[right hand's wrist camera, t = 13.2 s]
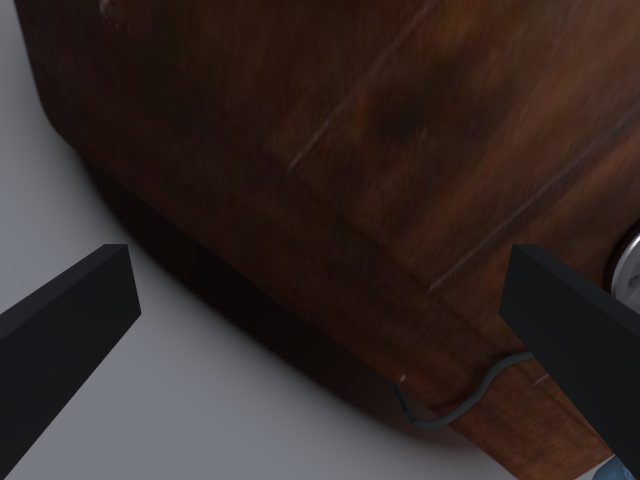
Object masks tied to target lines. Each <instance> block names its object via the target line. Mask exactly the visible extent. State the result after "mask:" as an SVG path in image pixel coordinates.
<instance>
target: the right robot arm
mask: <svg viewBox="0 0 640 480" xmlns="http://www.w3.org/2000/svg"><path fill="white" fill-rule="evenodd" d="M140 315H141V309H140V304H139V299H138V294H137V289H136V285H135V280H134V275H133V270H132V265H131V260H130V256H129V251H128V246H127V244H104V245H103V246H101V247H100V248H98V249H97V250H95V251H94V252H92V253H91V254H89V255H88V256H86V257H85V258H83V259H82V260H80V261H79V262H78V263H76V264H75V265H73V266H72V267H70V268H69V269H67V270H66V271H64V272H63V273H61V274H60V275H58V276H57V277H55V278H54V279H52V280H51V281H49V282H48V283H46V284H45V285H43V286H42V287H40V288H39V289H37V290H36V291H35V292H33V293H32V294H30V295H29V296H27V297H26V298H24V299H23V300H21V301H20V302H18V303H17V304H15V305H14V306H12V307H11V308H9V309H8V310H6V311H5V312H3V313H2V314H0V480H4V479H5V477H6V476H7V475H8V474H9V473H10V471H11V470H12V469H13V468H14V467H15V465H16V464H17V463H18V462H19V461H20V459H21V458H22V457H23V456H24V455H25V453H26V452H27V451H28V450H29V449H30V447H31V446H32V445H33V444H34V443H35V441H36V440H37V439H38V438H39V437H40V435H41V434H42V433H43V432H44V431H45V429H46V428H47V427H48V426H49V425H50V423H51V422H52V421H53V420H54V419H55V417H56V416H57V415H58V414H59V413H60V411H61V410H62V409H63V408H64V406H65V405H66V404H67V403H68V402H69V400H70V399H71V398H72V397H73V396H74V394H75V393H76V392H77V391H78V390H79V388H80V387H81V386H82V385H83V384H84V382H85V381H86V380H87V379H88V378H89V376H90V375H91V374H92V373H93V372H94V370H95V369H96V368H97V367H98V366H99V364H100V363H101V362H102V361H103V360H104V358H105V357H106V356H107V355H108V354H109V352H110V351H111V350H112V349H113V348H114V346H115V345H116V344H117V343H118V342H119V340H120V339H121V338H122V337H123V335H124V334H125V333H126V332H127V331H128V329H129V328H130V327H131V326H132V325H133V323H134V322H135V321H136V320H137V319H138V317H139V316H140ZM499 315H500V316H501V317H502V319H503V320H504V321H505V322H506V323H507V325H508V326H509V327H510V328H511V329H512V331H513V332H514V333H515V334H516V335H517V337H518V338H519V339H520V340H521V342H522V343H523V344H524V345H525V346H526V348H527V349H528V350H529V351H525V352H521V353H517V354H514V355H511V356H508V357H506V358H504V359H502V360H500V361H499V362H497V363H496V364H494V365H493V366H492V367H491V368H490V369H489V370H488V371H487V372H486V374H485V375H484V377H483V378H482V380H481V382H480V384H479V385H478V387H477V389H476V390H475V391H474V393H473V394H472V395H471V396H470V397H469V398H468V399H466V400H465V401H464V402H463V403H461V404H460V405H459V406H458V407H456V408H455V409H454V410H452V411H451V412H450V413H448V414H447V415H445V416H443V417H441V418H439V419H437V420H433V421H421V420H418V419H416V418H415V417H414V416H413V415H412V414H411V412H410V411H409V409H408V407H407V404H406V402H405V400H404V398H403V396H402V394H401V393H400V391H399V389H398V387H397V385H396V384H394V383H393V382H391V381H390V380H388V382H389V384H390V386H391V388H392V390H393V392H394V394H395V396H396V398H397V400H398V402H399V404H400V407H401V409H402V411H403V413H404V415H405V417H406V418H407V420H408V421H409V422H410V423H411V424H413V425H414V426H416V427H418V428H423V429H434V428H439V427H442V426H444V425H446V424H448V423H450V422H451V421H453V420H454V419H456V418H457V417H459V416H460V415H461V414H462V413H464V412H465V411H466V410H467V409H469V408H470V407H471V406H472V405H474V404H475V403H476V402H477V401H478V400H479V399H480V398H481V397H482V395H483V394H484V392H485V391H486V389H487V387H488V386H489V384H490V382H491V381H492V379H493V378H494V377H495V376H496V374H497V373H499V372H500V371H501V370H502V369H504V368H506V367H507V366H509V365H511V364H514V363H517V362H520V361H524V360H528V359H533V358H536V360H537V361H538V362H539V363H540V364H541V366H542V367H543V368H544V369H545V370H546V372H547V373H548V374H549V375H550V376H551V378H552V379H553V380H554V381H555V382H556V384H557V385H558V386H559V387H560V388H561V390H562V391H563V392H564V393H565V394H566V396H567V397H568V398H569V399H570V400H571V402H572V403H573V404H574V405H575V406H576V408H577V409H578V410H579V411H580V413H581V414H582V415H583V416H584V417H585V419H586V420H587V421H588V422H589V423H590V425H591V426H592V427H593V428H594V429H595V431H596V432H597V433H598V434H599V435H600V437H601V438H602V439H603V440H604V441H605V443H606V444H607V445H608V446H609V447H610V449H611V450H612V451H613V452H614V453H615V456H614V457H613V458H611V459H610V460H609V461H608V462H606V463H605V464H604V465H603V466H602V467H600V468H599V469H598V470H597V471H596V473H595V474H594V476H593V479H592V480H640V220H639V221H637V222H636V223H635V224H634V225H633V226H632V227H631V228H630V229H629V230H628V231H627V232H626V234H625V235H624V236H623V237H622V238H621V240H620V241H619V242H618V244H617V245H616V247H615V249H614V250H613V252H612V254H611V256H610V258H609V260H608V263H607V265H606V269H605V272H604V277H603V289H601V288H600V287H598V286H597V285H595V284H594V283H592V282H591V281H589V280H588V279H586V278H585V277H583V276H582V275H580V274H579V273H577V272H576V271H574V270H573V269H571V268H570V267H568V266H567V265H565V264H564V263H563V262H561V261H560V260H558V259H557V258H555V257H554V256H552V255H551V254H549V253H548V252H546V251H545V250H543V249H542V248H540V247H539V246H537V245H536V244H513V246H512V251H511V256H510V260H509V265H508V270H507V275H506V280H505V285H504V289H503V294H502V299H501V304H500V309H499Z"/></svg>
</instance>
